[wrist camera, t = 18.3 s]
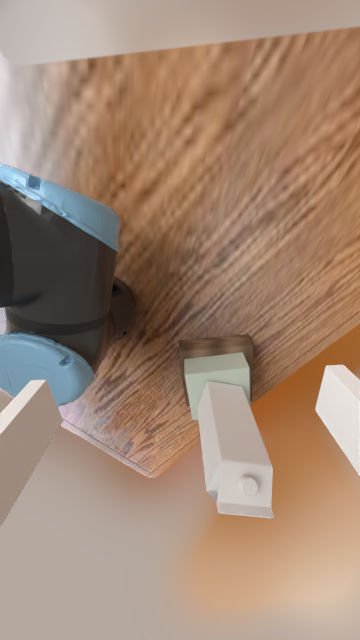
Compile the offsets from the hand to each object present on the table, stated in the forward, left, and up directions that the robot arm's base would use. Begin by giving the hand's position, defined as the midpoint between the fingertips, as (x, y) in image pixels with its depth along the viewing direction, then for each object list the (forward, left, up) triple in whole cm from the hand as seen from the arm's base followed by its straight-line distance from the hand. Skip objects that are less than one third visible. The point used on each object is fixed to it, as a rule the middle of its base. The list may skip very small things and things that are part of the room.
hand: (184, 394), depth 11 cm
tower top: (+5, -25, -30) cm, 39 cm away
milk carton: (+5, -25, -25) cm, 36 cm away
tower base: (+6, -24, -35) cm, 43 cm away
